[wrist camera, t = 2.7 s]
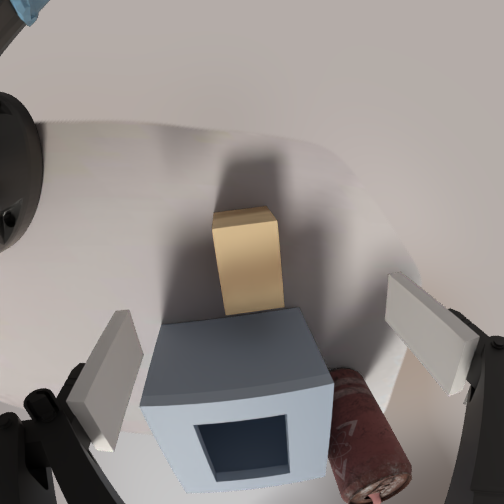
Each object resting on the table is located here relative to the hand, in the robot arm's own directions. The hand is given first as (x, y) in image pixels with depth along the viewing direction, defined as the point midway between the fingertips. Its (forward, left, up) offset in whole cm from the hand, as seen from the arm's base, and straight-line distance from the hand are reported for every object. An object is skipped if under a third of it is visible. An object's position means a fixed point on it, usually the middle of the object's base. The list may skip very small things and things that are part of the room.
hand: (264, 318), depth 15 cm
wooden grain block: (0, 0, -11) cm, 11 cm away
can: (+17, +7, -11) cm, 21 cm away
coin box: (+12, -2, -10) cm, 16 cm away
